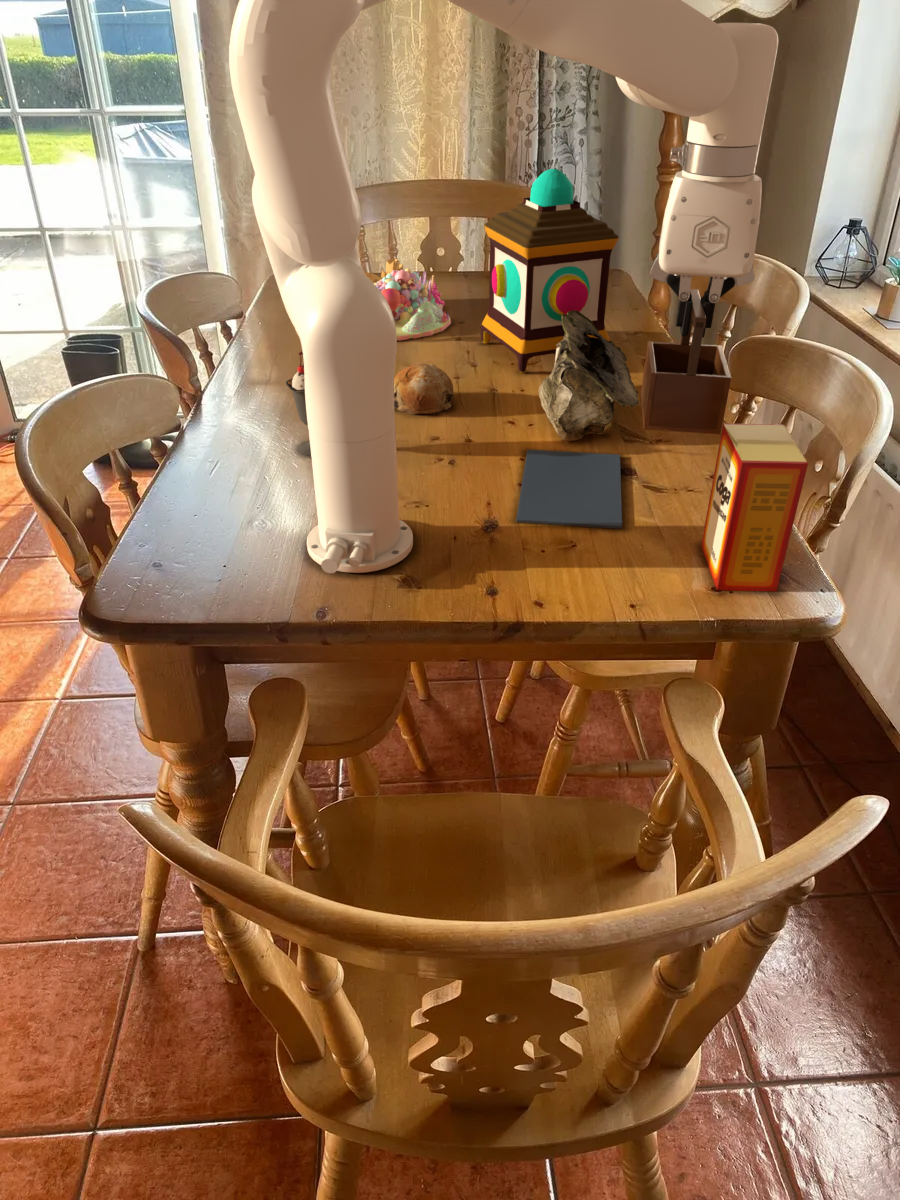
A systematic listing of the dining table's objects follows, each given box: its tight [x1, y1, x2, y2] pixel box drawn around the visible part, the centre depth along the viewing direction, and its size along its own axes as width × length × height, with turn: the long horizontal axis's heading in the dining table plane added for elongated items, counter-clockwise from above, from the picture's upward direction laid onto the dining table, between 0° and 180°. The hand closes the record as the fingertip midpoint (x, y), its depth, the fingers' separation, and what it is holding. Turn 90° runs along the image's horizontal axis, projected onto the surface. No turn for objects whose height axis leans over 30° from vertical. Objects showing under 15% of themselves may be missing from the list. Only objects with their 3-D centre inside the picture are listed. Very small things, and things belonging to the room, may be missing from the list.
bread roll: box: [394, 363, 454, 416], centre depth 142 cm, size 10×10×8 cm
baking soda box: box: [700, 423, 809, 592], centre depth 100 cm, size 10×6×16 cm
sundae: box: [285, 350, 311, 457], centre depth 126 cm, size 7×7×15 cm
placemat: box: [515, 449, 623, 530], centre depth 120 cm, size 20×13×1 cm, turn 172°
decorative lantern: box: [480, 168, 620, 374], centre depth 154 cm, size 20×20×30 cm
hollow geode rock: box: [537, 310, 640, 442], centre depth 138 cm, size 28×13×15 cm
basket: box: [640, 288, 732, 435], centre depth 108 cm, size 11×9×14 cm
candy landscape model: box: [364, 258, 452, 341], centre depth 175 cm, size 25×24×9 cm
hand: (691, 332), depth 106 cm, fingers closed on basket, 1 cm apart
